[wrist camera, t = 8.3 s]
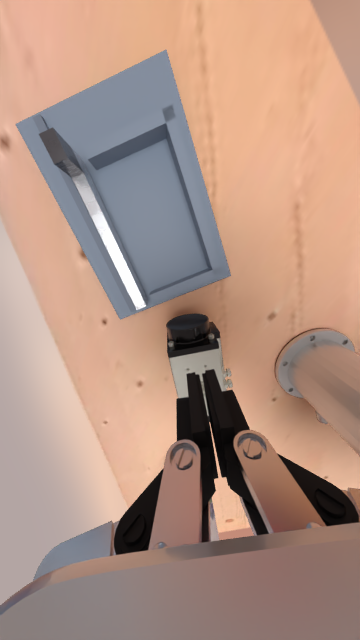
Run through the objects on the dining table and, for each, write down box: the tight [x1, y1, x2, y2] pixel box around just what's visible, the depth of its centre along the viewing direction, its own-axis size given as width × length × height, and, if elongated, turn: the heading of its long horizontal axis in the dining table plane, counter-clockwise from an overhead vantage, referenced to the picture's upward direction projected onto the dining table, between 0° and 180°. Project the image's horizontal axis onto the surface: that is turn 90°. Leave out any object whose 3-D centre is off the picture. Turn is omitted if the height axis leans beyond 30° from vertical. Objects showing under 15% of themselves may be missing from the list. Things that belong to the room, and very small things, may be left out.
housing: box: [16, 50, 231, 319], centre depth 21 cm, size 22×16×4 cm
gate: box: [39, 127, 148, 310], centre depth 20 cm, size 16×1×6 cm, turn 21°
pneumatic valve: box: [166, 314, 232, 422], centre depth 23 cm, size 6×12×12 cm, turn 10°
